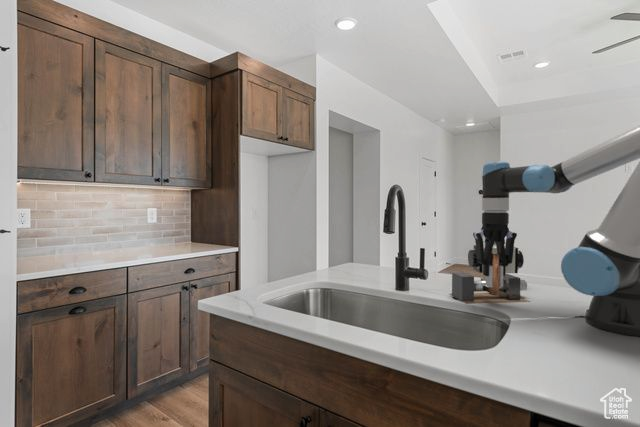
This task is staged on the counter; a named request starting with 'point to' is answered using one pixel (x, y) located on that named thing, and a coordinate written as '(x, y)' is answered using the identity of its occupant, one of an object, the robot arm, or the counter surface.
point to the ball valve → (517, 255)
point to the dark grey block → (463, 286)
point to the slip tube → (495, 279)
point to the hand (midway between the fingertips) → (494, 285)
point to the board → (490, 299)
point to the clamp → (511, 288)
